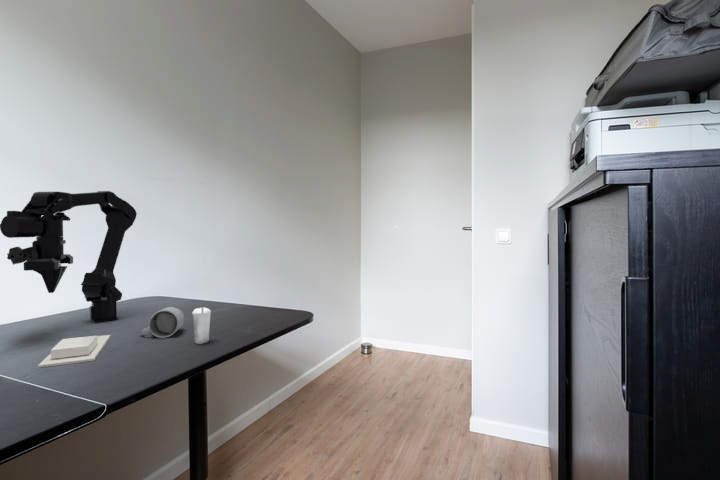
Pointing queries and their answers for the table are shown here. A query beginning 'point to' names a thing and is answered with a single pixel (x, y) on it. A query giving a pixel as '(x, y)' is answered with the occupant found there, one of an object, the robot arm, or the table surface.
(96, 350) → the mat
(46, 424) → the table surface
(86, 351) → the tile
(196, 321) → the milkshake
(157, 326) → the ceramic mug
